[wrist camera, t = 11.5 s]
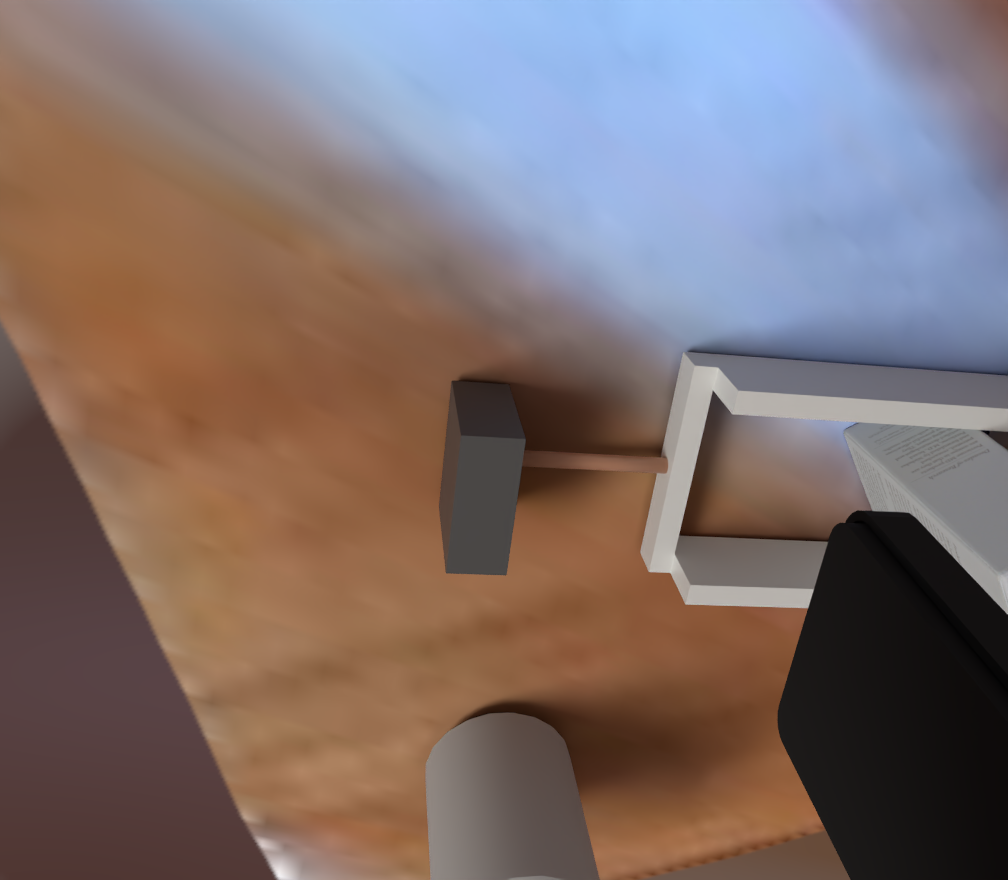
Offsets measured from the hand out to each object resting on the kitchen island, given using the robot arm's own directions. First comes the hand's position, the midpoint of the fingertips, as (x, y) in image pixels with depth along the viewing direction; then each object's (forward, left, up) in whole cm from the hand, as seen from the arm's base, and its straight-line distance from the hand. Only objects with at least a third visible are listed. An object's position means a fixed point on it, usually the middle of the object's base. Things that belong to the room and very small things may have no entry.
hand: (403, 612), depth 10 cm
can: (+29, +7, -28) cm, 41 cm away
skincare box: (+11, +24, -28) cm, 38 cm away
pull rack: (+11, +16, -27) cm, 34 cm away
